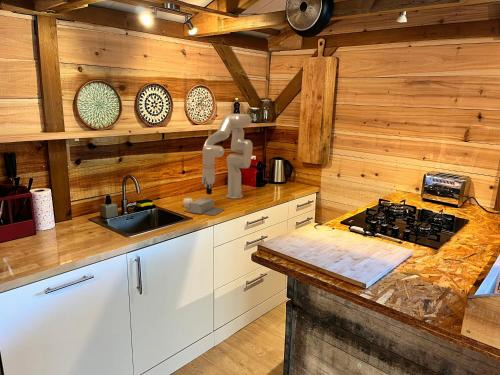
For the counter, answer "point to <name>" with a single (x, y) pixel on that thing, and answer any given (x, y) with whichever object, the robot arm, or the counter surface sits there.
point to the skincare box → (202, 205)
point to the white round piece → (187, 202)
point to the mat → (210, 212)
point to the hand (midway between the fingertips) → (209, 194)
